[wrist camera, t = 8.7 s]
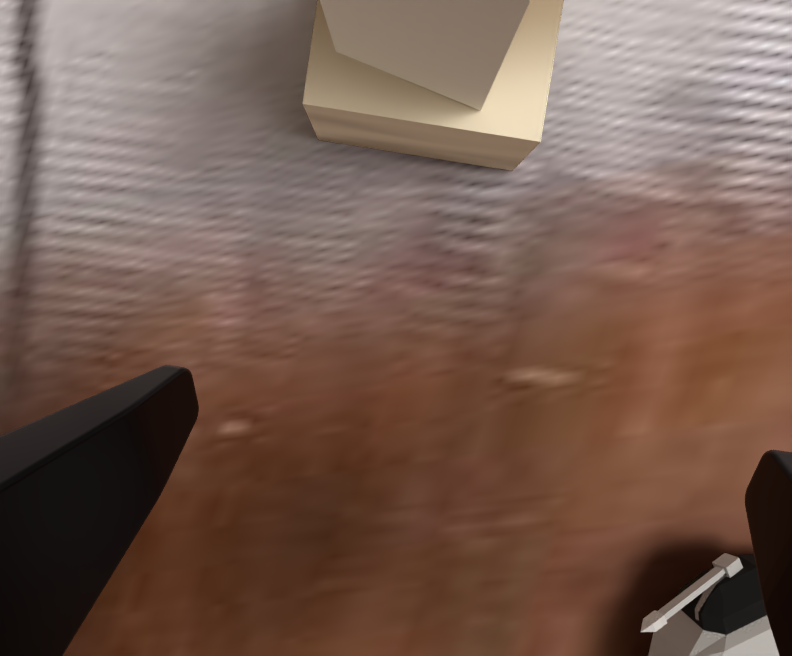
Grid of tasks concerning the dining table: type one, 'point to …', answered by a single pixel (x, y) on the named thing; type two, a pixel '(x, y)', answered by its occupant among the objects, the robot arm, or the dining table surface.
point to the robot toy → (715, 614)
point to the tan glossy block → (436, 100)
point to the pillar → (429, 40)
